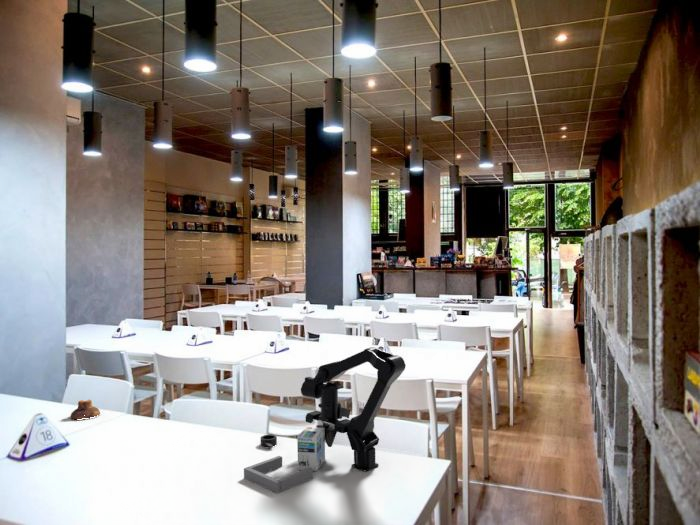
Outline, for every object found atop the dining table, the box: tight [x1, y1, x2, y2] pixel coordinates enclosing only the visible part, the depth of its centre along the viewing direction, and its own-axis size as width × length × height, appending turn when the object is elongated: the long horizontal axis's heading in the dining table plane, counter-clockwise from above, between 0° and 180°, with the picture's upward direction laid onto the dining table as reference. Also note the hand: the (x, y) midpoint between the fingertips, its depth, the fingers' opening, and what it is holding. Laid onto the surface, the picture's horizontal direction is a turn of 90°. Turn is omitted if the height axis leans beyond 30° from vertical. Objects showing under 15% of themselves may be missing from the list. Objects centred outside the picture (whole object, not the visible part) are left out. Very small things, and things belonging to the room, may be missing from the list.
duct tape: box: [260, 434, 278, 448], centre depth 194 cm, size 8×10×3 cm
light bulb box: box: [296, 426, 326, 472], centre depth 175 cm, size 11×7×11 cm, turn 168°
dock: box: [243, 455, 314, 494], centre depth 164 cm, size 16×14×3 cm
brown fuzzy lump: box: [69, 399, 101, 419], centre depth 232 cm, size 12×12×7 cm
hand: (329, 446), depth 181 cm, fingers closed
